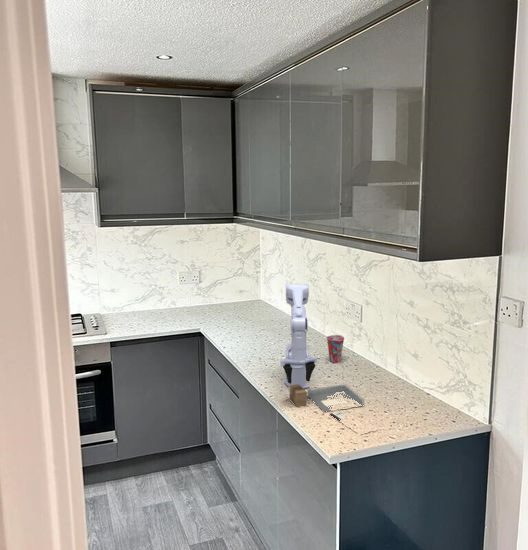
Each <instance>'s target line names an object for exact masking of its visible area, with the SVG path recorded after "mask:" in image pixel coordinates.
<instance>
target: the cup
mask: <svg viewBox="0 0 528 550" xmlns="http://www.w3.org/2000/svg"><path fill="white" fill-rule="evenodd" d="M326 340H327V348H328V349H327V350H328V358H329V363H331V362H333V363H332V364H339V363H338V362H340V363H341V359H342V353H343V346H344V341H345V336H343V335H341V334H333V335H329V336H326Z"/></svg>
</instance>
